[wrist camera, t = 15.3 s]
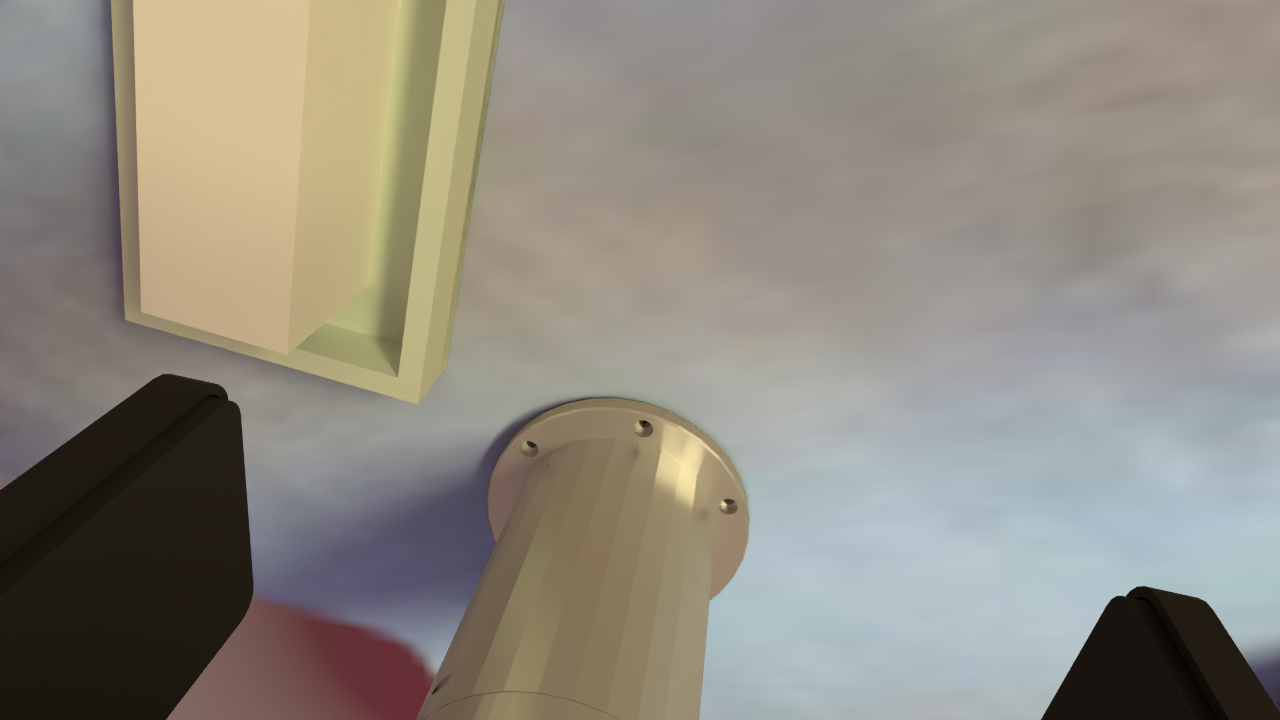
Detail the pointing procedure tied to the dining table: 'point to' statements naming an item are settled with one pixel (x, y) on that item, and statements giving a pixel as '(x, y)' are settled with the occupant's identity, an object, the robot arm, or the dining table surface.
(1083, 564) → the dining table surface
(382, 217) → the tray
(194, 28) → the tan cardboard box
